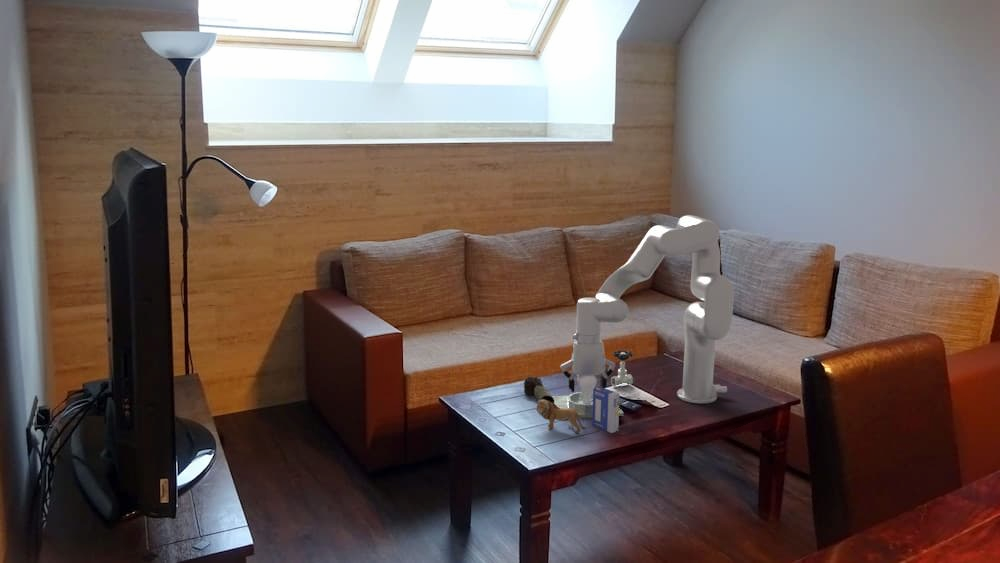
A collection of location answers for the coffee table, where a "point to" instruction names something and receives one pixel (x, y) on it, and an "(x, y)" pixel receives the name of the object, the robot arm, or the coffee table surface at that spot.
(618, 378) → the valve
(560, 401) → the duct collar
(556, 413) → the lion figurine
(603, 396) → the walkman
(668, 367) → the coffee table surface
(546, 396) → the brown camo elongated piece
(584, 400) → the lightbulb
